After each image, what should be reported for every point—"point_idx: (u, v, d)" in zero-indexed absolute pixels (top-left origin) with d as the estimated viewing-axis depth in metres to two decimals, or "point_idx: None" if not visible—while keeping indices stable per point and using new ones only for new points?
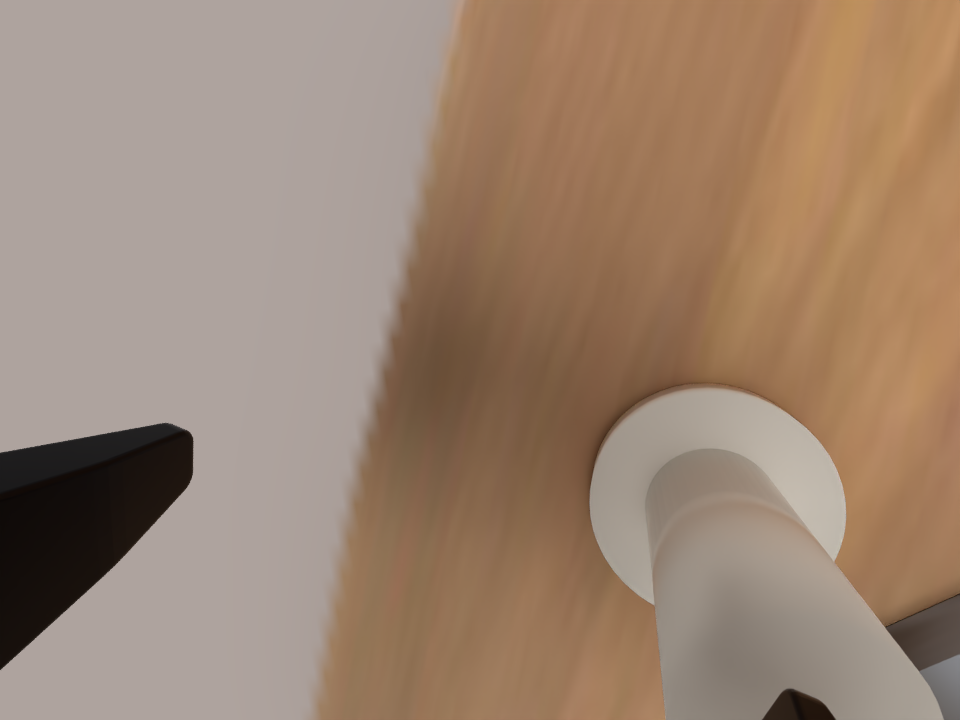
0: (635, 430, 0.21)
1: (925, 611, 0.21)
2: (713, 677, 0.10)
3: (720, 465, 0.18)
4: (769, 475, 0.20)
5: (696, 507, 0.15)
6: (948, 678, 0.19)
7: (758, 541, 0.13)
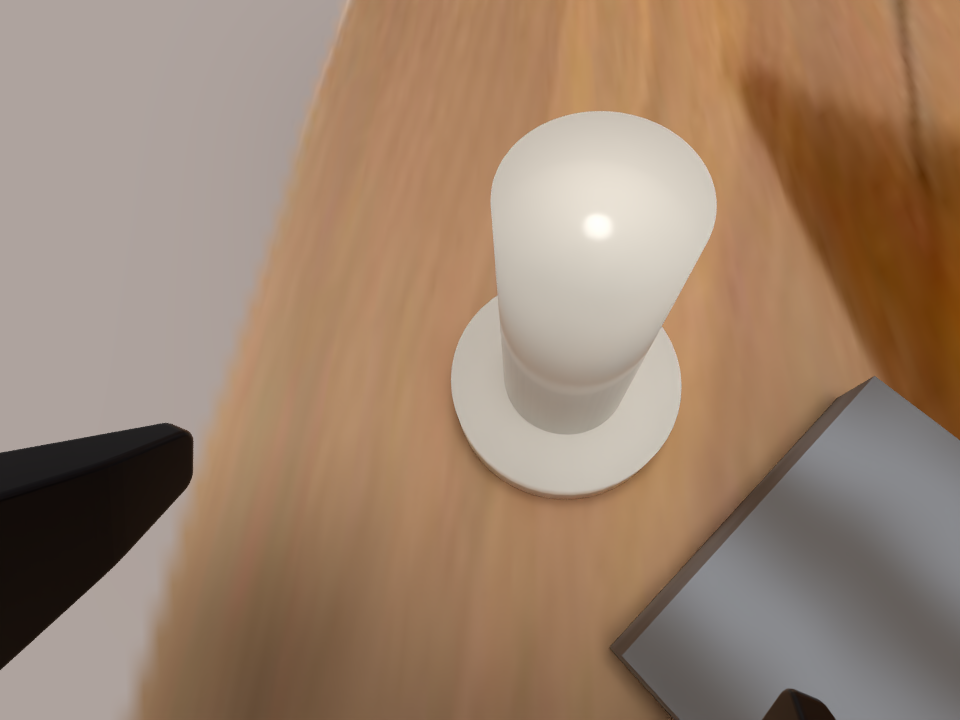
0: (484, 319, 0.22)
1: (781, 460, 0.21)
2: (524, 176, 0.12)
3: None
4: None
5: None
6: (810, 475, 0.19)
7: None
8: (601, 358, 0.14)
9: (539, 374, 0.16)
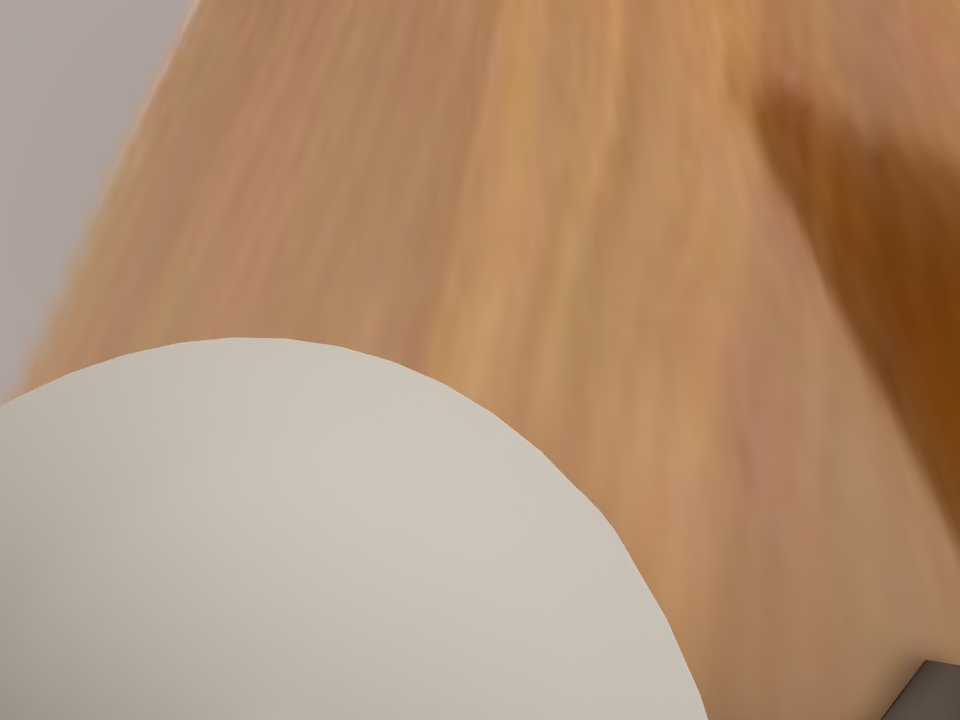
0: None
1: None
2: None
3: None
4: None
5: None
6: None
7: None
8: None
9: None
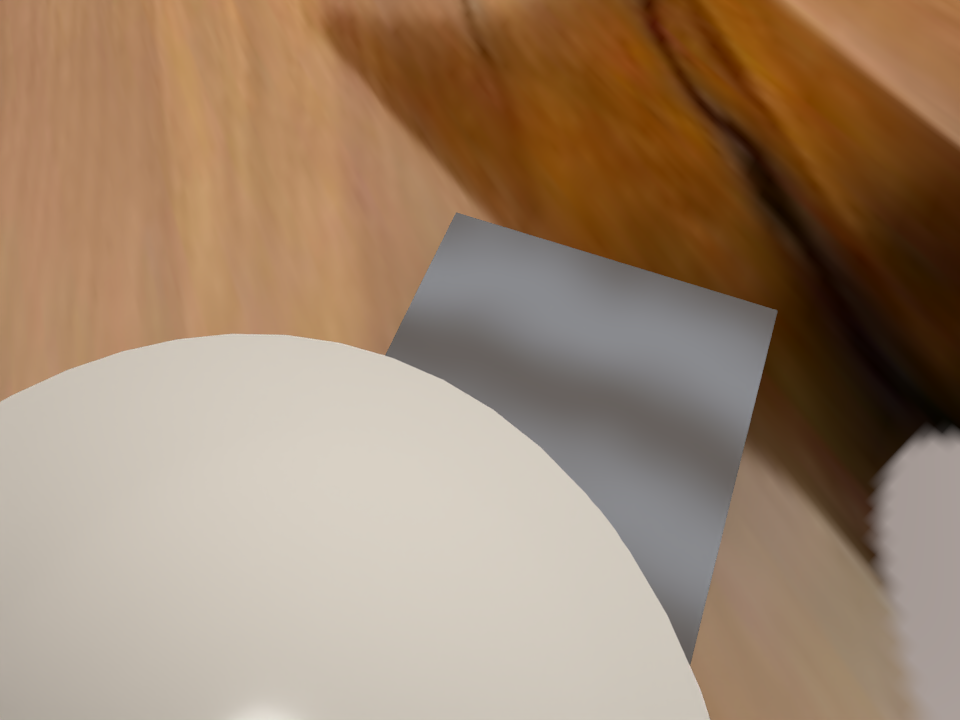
0: None
1: None
2: None
3: None
4: None
5: None
6: (425, 306, 0.22)
7: None
8: None
9: None
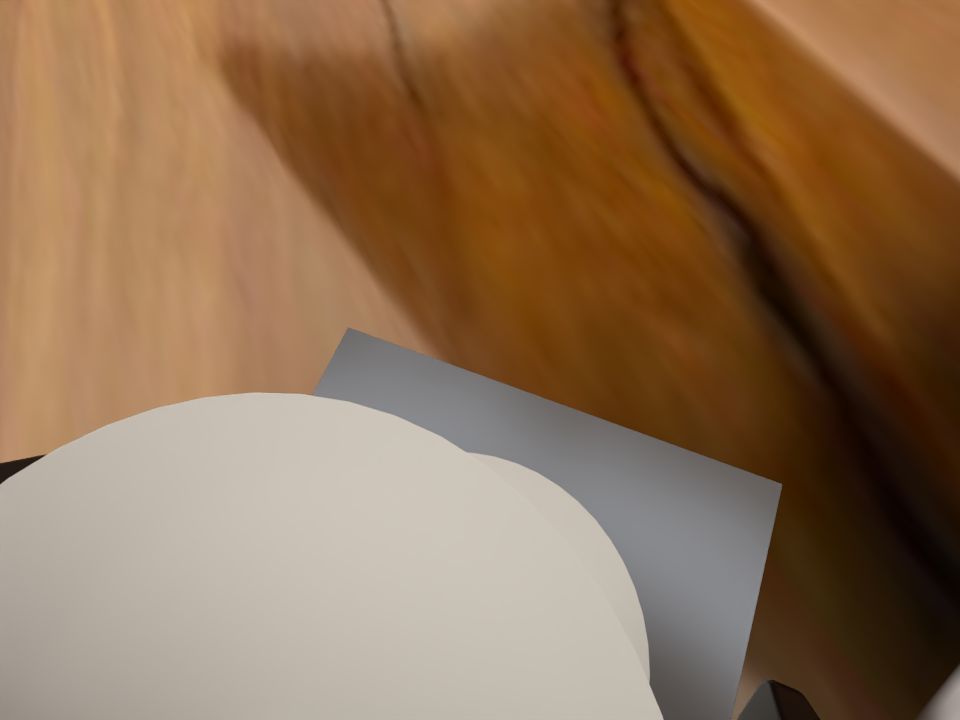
0: None
1: None
2: None
3: None
4: None
5: None
6: None
7: None
8: None
9: None
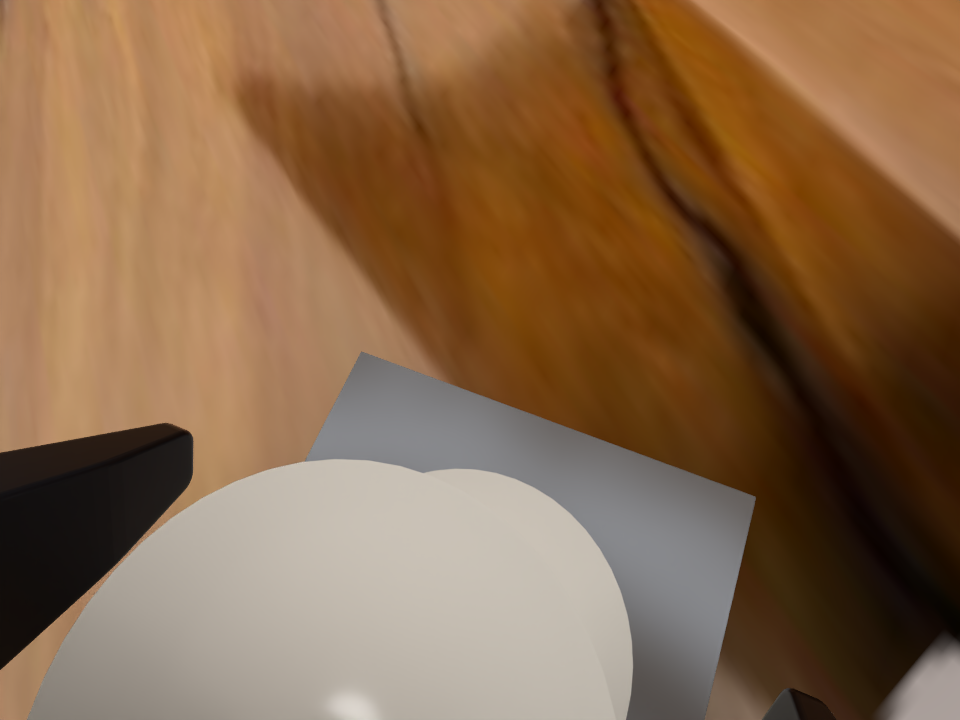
0: None
1: None
2: (126, 671, 0.04)
3: None
4: None
5: None
6: None
7: None
8: None
9: None
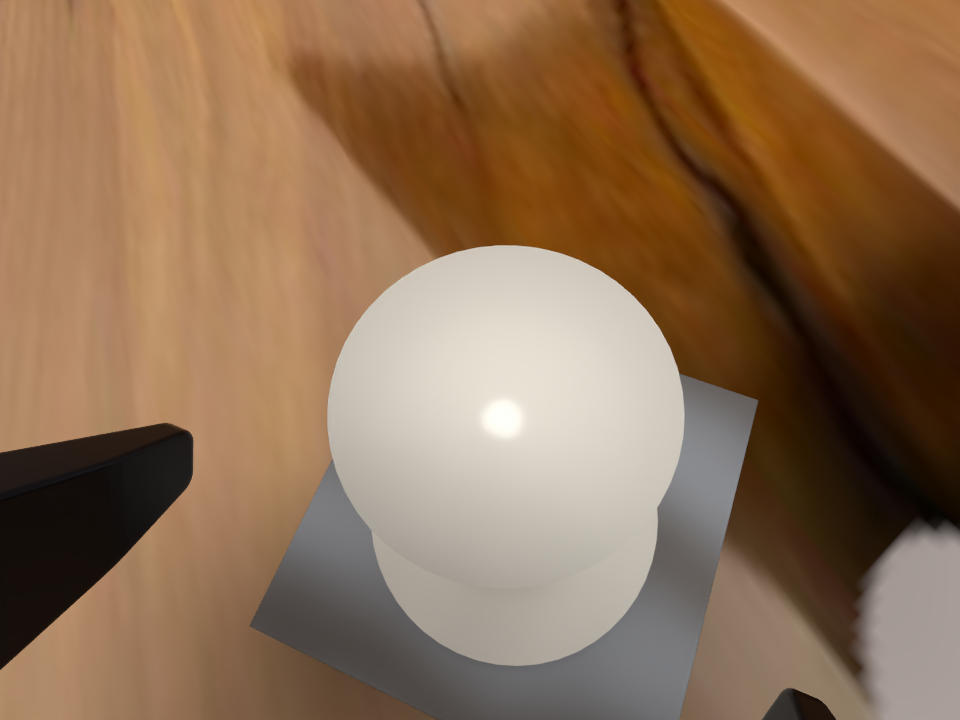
0: None
1: None
2: (386, 356, 0.08)
3: None
4: None
5: None
6: None
7: None
8: None
9: None
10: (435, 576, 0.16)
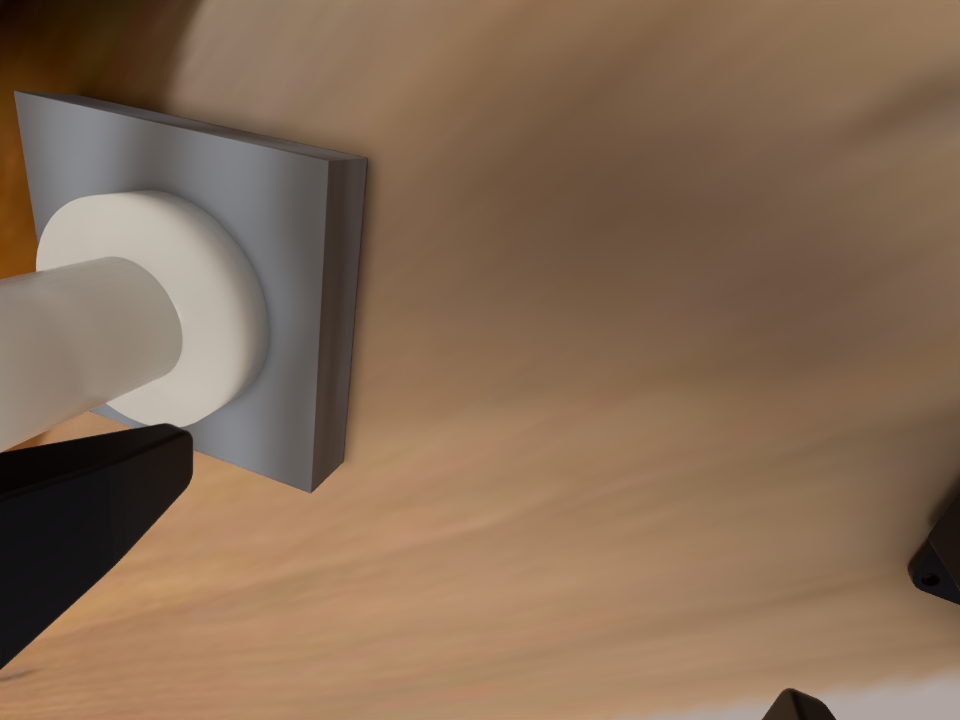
0: (114, 400, 0.22)
1: None
2: None
3: None
4: None
5: None
6: None
7: None
8: None
9: (24, 413, 0.15)
10: (194, 374, 0.20)
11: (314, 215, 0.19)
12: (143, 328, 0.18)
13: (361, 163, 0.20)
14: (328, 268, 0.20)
